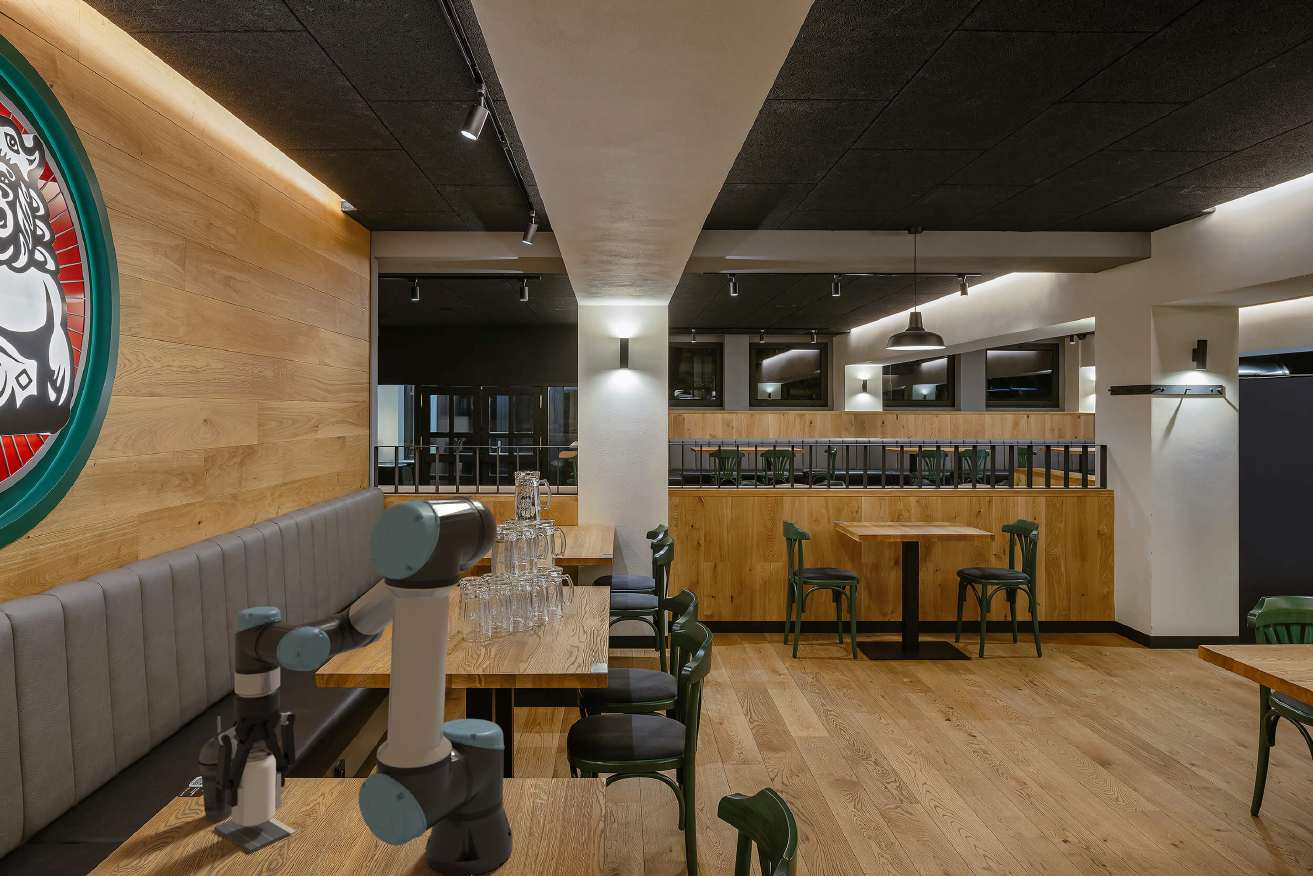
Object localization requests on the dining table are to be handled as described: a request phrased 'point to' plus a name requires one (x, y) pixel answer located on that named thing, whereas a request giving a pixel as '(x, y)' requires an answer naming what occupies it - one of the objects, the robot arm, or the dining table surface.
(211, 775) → the beverage cup
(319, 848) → the dining table surface
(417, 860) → the dining table surface
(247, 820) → the can
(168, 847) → the dining table surface
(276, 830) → the dark grey flat slab
